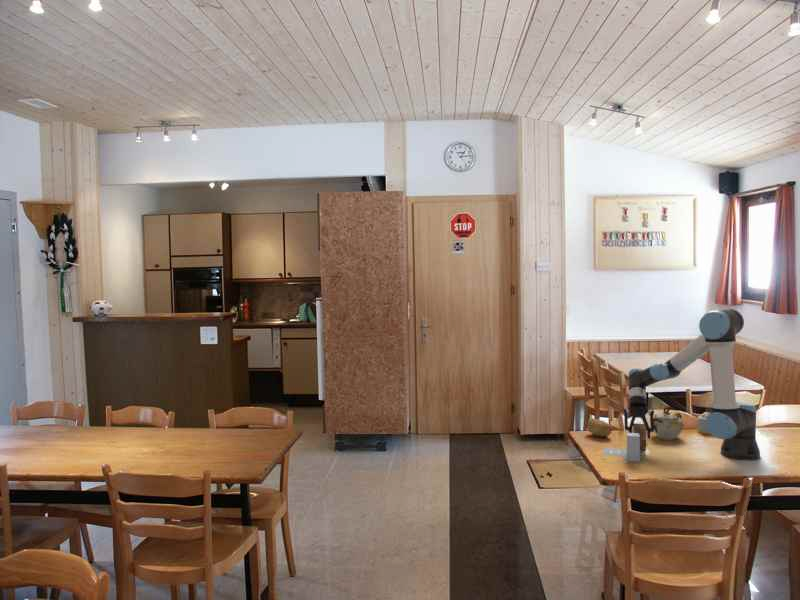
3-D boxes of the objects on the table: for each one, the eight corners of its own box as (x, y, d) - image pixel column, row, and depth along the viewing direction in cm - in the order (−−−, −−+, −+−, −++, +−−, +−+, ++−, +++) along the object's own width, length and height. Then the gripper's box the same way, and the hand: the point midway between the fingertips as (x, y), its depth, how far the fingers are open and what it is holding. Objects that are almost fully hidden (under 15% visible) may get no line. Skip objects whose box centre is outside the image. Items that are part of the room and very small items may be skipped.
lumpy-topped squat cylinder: (729, 433, 304) (730, 415, 304) (706, 435, 302) (706, 417, 301) (714, 427, 314) (715, 410, 314) (692, 429, 312) (692, 412, 311)
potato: (601, 441, 294) (601, 425, 294) (582, 433, 307) (582, 418, 307) (617, 438, 298) (618, 422, 298) (598, 431, 311) (598, 415, 311)
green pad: (648, 450, 280) (648, 449, 280) (649, 455, 272) (649, 455, 272) (629, 448, 282) (629, 448, 282) (630, 454, 275) (630, 453, 275)
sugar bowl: (664, 444, 288) (665, 412, 287) (639, 436, 302) (639, 406, 300) (694, 438, 297) (694, 407, 296) (668, 430, 310) (668, 401, 309)
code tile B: (642, 458, 269) (642, 457, 269) (643, 463, 262) (643, 463, 262) (622, 456, 272) (622, 455, 272) (623, 462, 264) (623, 461, 264)
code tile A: (625, 449, 281) (625, 449, 281) (626, 456, 271) (626, 456, 271) (602, 448, 284) (602, 447, 284) (602, 455, 274) (602, 454, 274)
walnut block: (644, 448, 279) (645, 424, 278) (645, 451, 274) (645, 427, 273) (633, 447, 280) (633, 423, 280) (633, 450, 276) (633, 426, 275)
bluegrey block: (638, 458, 268) (638, 433, 268) (639, 461, 264) (639, 436, 263) (626, 457, 270) (626, 432, 269) (627, 460, 265) (627, 435, 264)
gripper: (657, 404, 288) (661, 449, 273) (617, 402, 293) (618, 446, 279) (659, 395, 283) (662, 441, 268) (617, 394, 288) (618, 438, 273)
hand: (640, 444), depth 274 cm, fingers closed on walnut block, 5 cm apart
